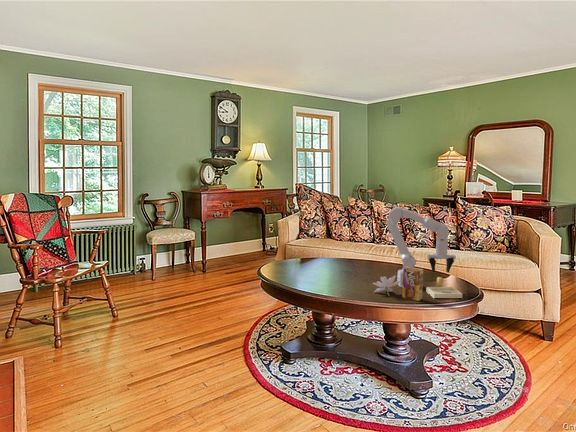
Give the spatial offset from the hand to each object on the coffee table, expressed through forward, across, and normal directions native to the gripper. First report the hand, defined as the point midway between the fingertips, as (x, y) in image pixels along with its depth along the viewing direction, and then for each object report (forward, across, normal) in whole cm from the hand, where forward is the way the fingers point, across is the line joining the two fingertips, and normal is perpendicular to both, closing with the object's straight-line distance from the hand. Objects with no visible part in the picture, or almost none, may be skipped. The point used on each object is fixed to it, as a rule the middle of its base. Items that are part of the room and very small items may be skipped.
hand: (440, 272), depth 226 cm
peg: (+9, 0, 0) cm, 9 cm away
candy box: (+10, -20, -17) cm, 28 cm away
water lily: (+10, -31, -9) cm, 34 cm away
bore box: (+9, -2, -11) cm, 14 cm away
